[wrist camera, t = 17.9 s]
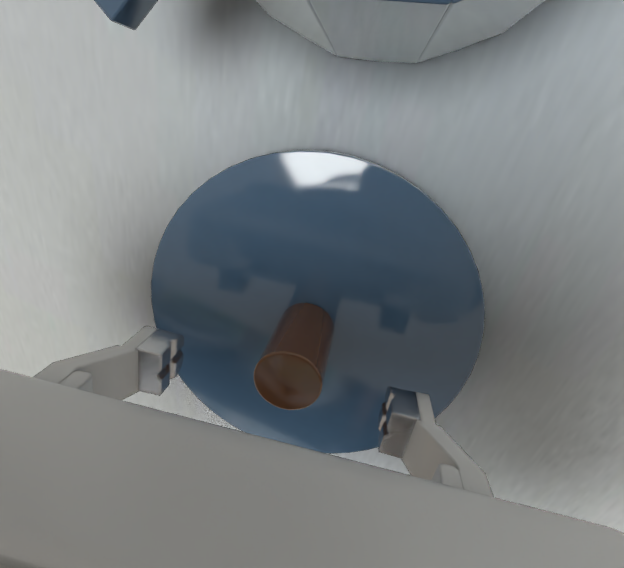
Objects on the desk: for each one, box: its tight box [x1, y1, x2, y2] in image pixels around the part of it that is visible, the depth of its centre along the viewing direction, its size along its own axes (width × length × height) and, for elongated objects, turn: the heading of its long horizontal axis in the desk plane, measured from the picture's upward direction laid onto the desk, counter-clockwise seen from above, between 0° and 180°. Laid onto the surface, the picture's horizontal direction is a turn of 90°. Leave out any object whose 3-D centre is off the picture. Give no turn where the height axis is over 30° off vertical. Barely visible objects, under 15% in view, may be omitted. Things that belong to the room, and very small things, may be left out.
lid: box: [151, 150, 485, 454], centre depth 16 cm, size 16×16×5 cm
